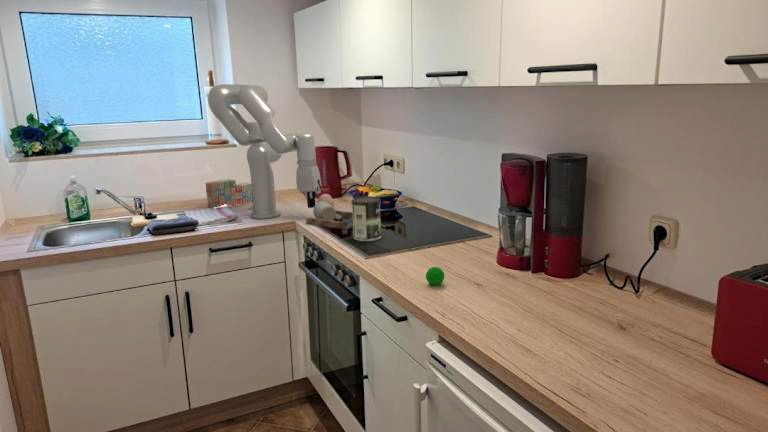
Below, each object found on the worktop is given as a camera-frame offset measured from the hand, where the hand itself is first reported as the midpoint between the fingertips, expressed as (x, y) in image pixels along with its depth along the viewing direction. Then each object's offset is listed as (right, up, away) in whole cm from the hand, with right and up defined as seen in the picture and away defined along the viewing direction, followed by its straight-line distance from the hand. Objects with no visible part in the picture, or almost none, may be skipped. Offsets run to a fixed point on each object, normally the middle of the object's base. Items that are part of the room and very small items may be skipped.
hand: (311, 207), depth 229 cm
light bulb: (+7, -6, -3) cm, 10 cm away
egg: (+5, -2, +12) cm, 13 cm away
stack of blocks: (-43, +1, +35) cm, 55 cm away
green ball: (+44, -23, -80) cm, 94 cm away
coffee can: (+24, -12, -31) cm, 41 cm away
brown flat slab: (+12, -6, -7) cm, 15 cm away
